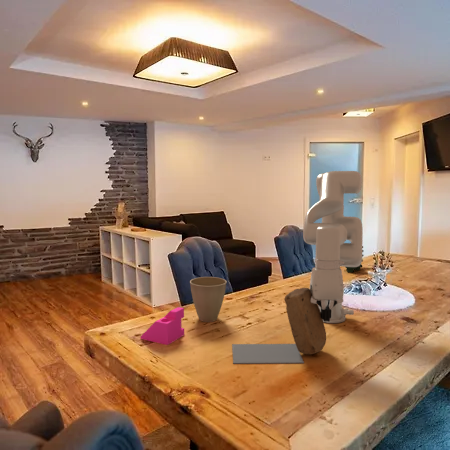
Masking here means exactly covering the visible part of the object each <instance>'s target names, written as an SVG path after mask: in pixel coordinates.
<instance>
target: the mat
mask: <svg viewBox="0 0 450 450" xmlns="http://www.w3.org/2000/svg"><path fill="white" fill-rule="evenodd" d="M231 347H232V364H233V365H239V364H240V365H241V364H244V365H247V364H251V365H252V364H255V365H257V364H259V365H260V364H261V365H262V364H269V365H270V364H272V365H273V364H274V365H275V364H305V360H303V356H302V355H301V354H302V353H300V352H299V351H298V349H297V346H296V344H295V343H232V344H231Z"/></svg>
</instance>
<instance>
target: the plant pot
mask: <svg viewBox="0 0 450 450" xmlns="http://www.w3.org/2000/svg"><path fill="white" fill-rule="evenodd" d="M189 284H190V292H191V296H192V302H193V305H194V306H193V307H194V309H195V311H196V314H197V317H198V319H199V321H201V322H206V323H211V322H215V321H217V319H218V317H219V316H220V312H221V309H222V306H223V303H224V302H223V301H224V298H225V295H226V289H227V280H226V279H224V278H221V277H218V276H217V277H216V276H215V277H214V276H201V277H200V276H199V277H196V278H192V279H191V280H189Z"/></svg>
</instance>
